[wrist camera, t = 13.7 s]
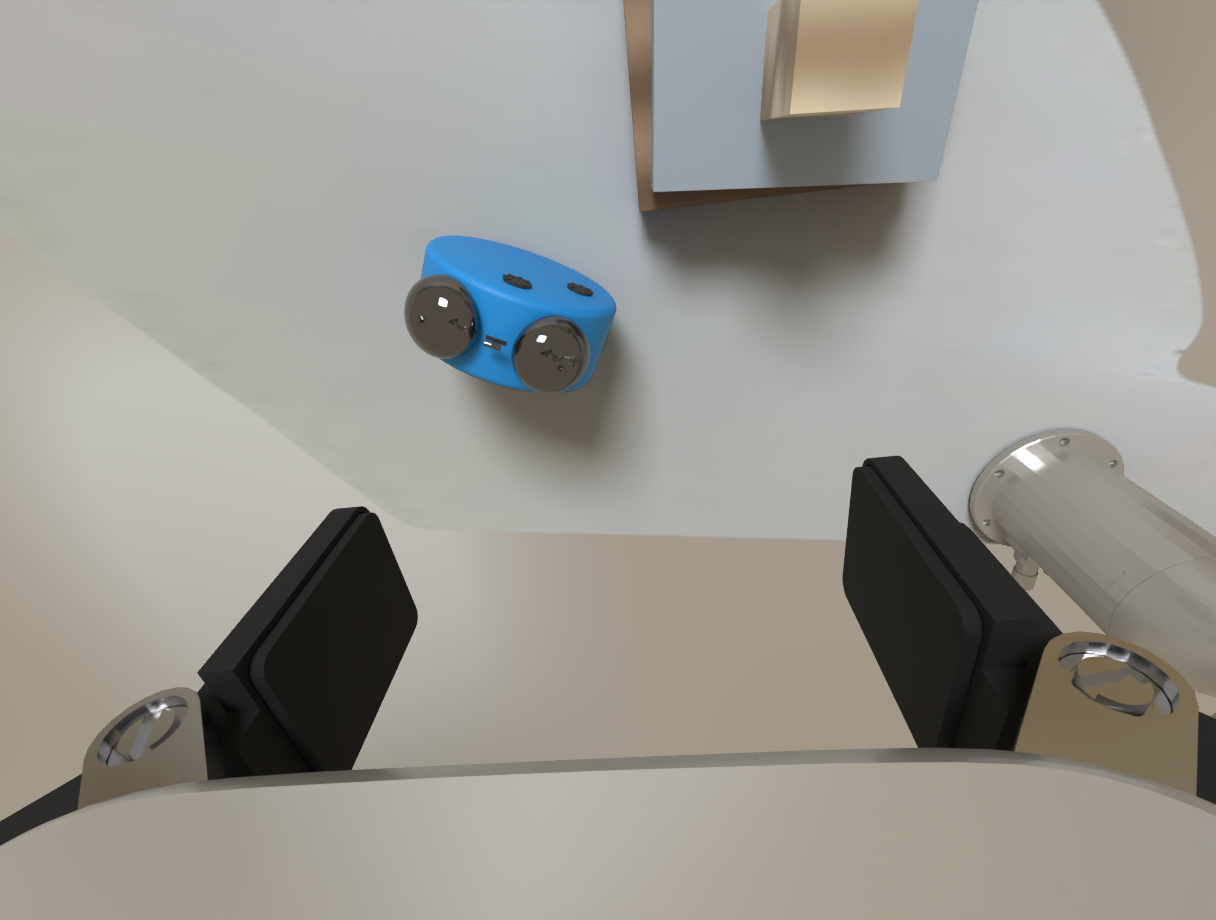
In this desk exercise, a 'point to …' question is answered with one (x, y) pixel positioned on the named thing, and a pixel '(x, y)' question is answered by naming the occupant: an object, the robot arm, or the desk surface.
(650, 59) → the walnut slab
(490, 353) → the alarm clock
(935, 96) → the slate slab
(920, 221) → the desk surface
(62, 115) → the desk surface
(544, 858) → the robot arm
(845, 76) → the beech block
